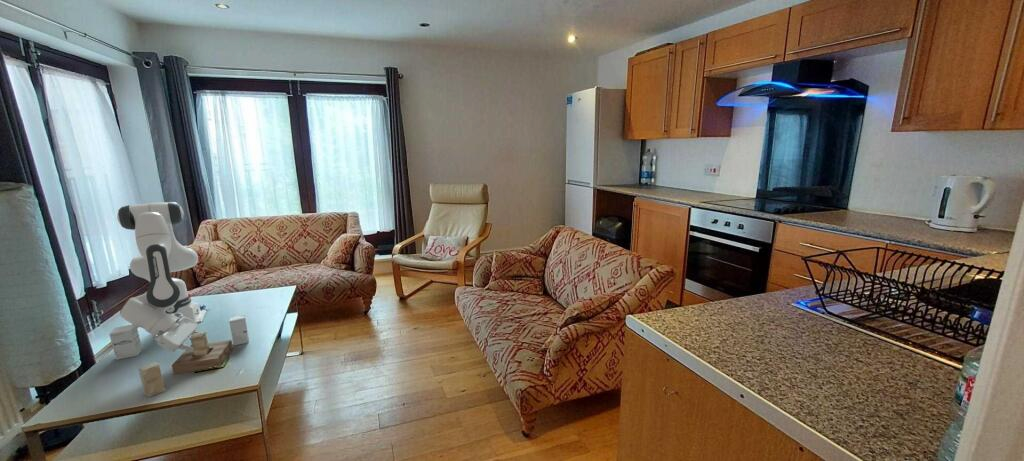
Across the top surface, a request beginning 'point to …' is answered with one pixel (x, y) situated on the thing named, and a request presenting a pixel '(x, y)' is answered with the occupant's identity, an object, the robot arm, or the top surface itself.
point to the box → (151, 379)
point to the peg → (200, 344)
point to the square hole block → (203, 358)
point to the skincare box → (239, 330)
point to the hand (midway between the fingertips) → (198, 344)
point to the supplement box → (125, 341)
